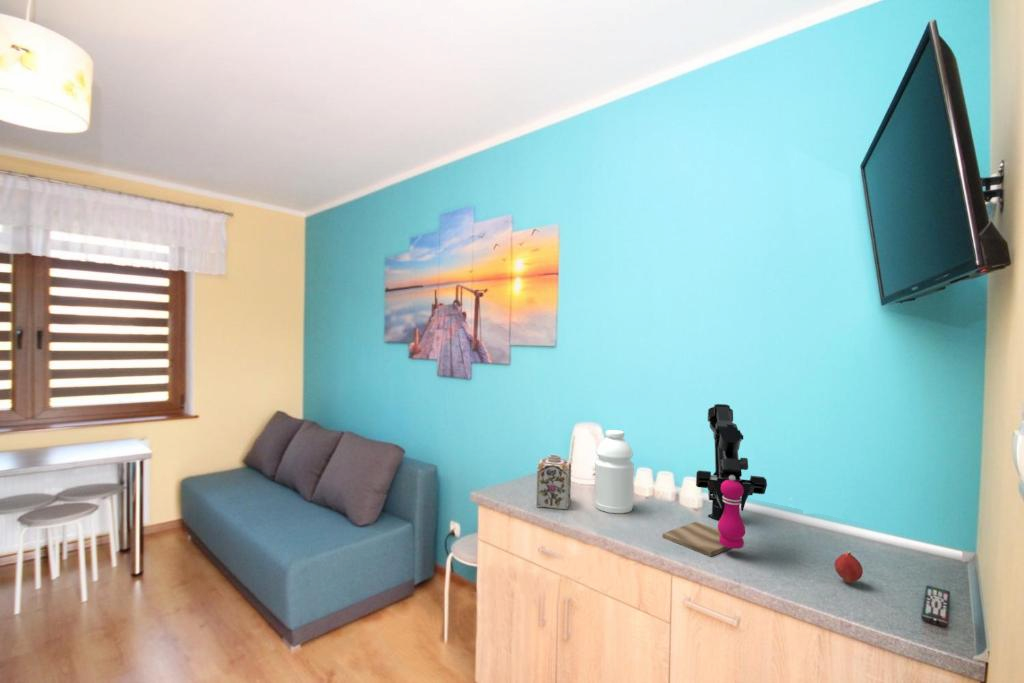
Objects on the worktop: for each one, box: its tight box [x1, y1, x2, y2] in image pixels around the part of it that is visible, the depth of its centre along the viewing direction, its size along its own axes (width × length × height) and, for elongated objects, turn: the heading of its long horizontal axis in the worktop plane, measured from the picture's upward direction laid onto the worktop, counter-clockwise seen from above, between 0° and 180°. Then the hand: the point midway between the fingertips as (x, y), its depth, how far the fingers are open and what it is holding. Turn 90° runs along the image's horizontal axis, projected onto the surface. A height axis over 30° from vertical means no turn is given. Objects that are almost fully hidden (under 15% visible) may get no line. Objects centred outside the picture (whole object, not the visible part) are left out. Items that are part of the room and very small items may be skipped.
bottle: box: [594, 429, 635, 514], centre depth 170 cm, size 14×14×28 cm
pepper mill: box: [717, 475, 746, 550], centre depth 133 cm, size 7×7×20 cm
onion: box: [834, 551, 864, 584], centre depth 118 cm, size 6×6×8 cm
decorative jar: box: [536, 454, 572, 510], centre depth 173 cm, size 12×12×18 cm
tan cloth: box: [662, 521, 744, 558], centre depth 143 cm, size 18×16×1 cm
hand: (732, 509), depth 132 cm, fingers closed on pepper mill, 5 cm apart
